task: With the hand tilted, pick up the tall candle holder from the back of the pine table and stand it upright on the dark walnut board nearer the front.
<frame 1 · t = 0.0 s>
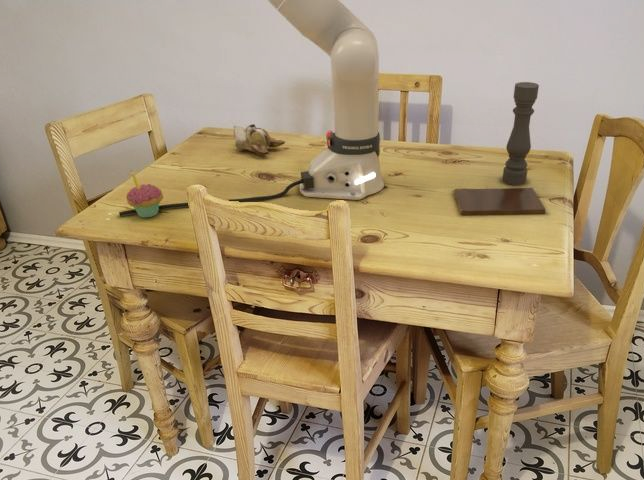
cupcake: (148, 214, 150), on the table
board: (497, 203, 150), on the table
candle holder: (513, 181, 162), on the table
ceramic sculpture: (257, 152, 185), on the table
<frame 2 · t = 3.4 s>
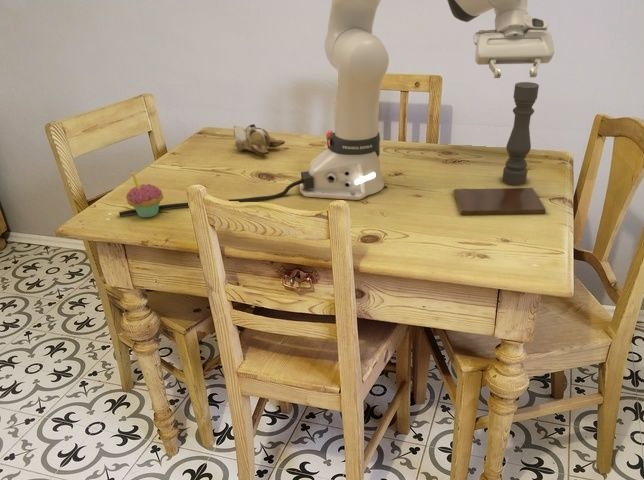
hand: (515, 76, 158), 24 cm above the table, tool tilted 45°, fingers open, 8 cm apart
nothing on the table moved.
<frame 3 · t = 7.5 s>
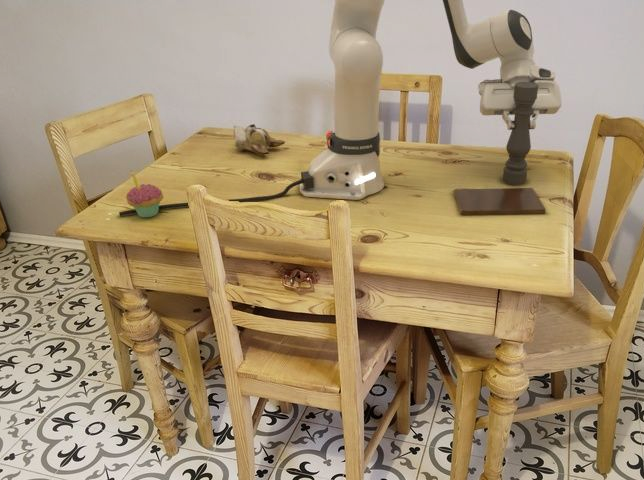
hand: (521, 128, 153), 14 cm above the table, tool tilted 45°, fingers closed on candle holder, 4 cm apart
candle holder: (513, 181, 162), on the table, touching gripper
everything else where it was.
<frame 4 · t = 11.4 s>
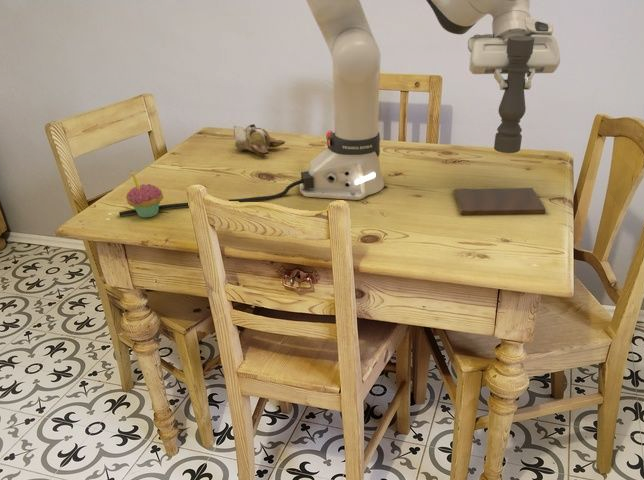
hand: (515, 88, 137), 27 cm above the table, tool tilted 45°, fingers closed on candle holder, 4 cm apart
candle holder: (506, 149, 146), point 12 cm above the table, touching gripper
everything else where it was.
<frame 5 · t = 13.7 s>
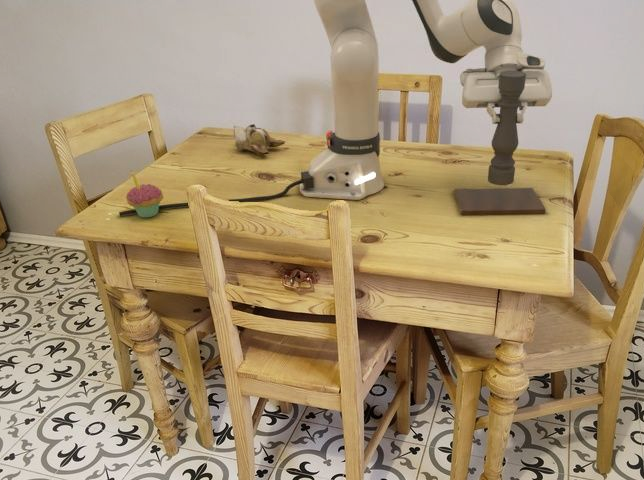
hand: (508, 122, 138), 20 cm above the table, tool tilted 45°, fingers closed on candle holder, 4 cm apart
candle holder: (500, 181, 147), point 6 cm above the table, touching gripper
everything else where it was.
when the fingers open (15 cm above the table, at t = 15.4 s): candle holder stays where it is, resting on board.
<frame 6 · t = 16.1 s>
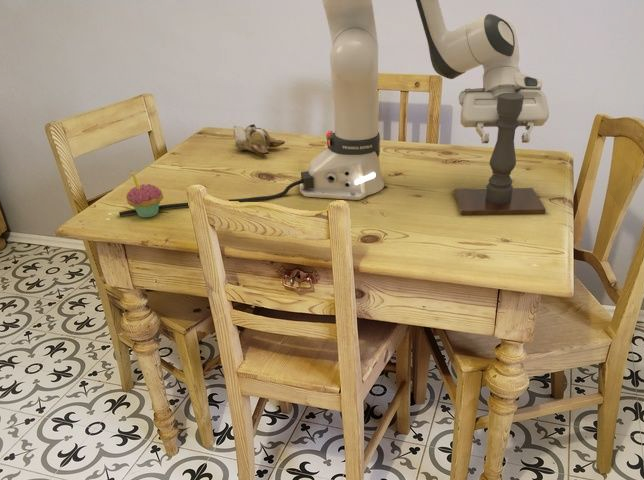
hand: (505, 142, 141), 16 cm above the table, tool tilted 45°, fingers open, 8 cm apart
candle holder: (498, 199, 149), point 1 cm above the table, touching board
everything else where it was.
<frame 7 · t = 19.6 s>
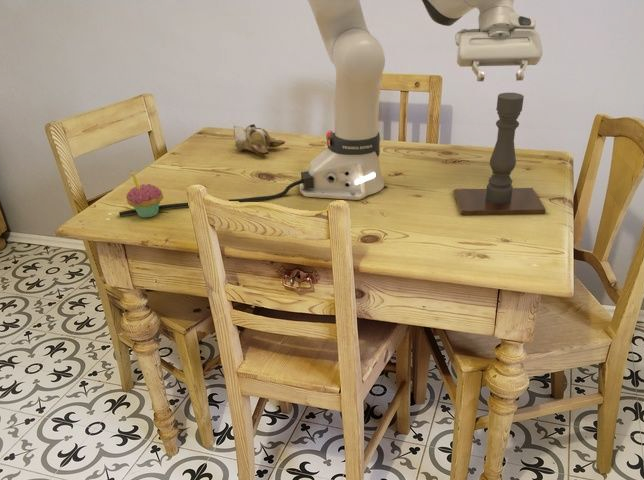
hand: (500, 79, 145), 27 cm above the table, tool tilted 45°, fingers open, 8 cm apart
nothing on the table moved.
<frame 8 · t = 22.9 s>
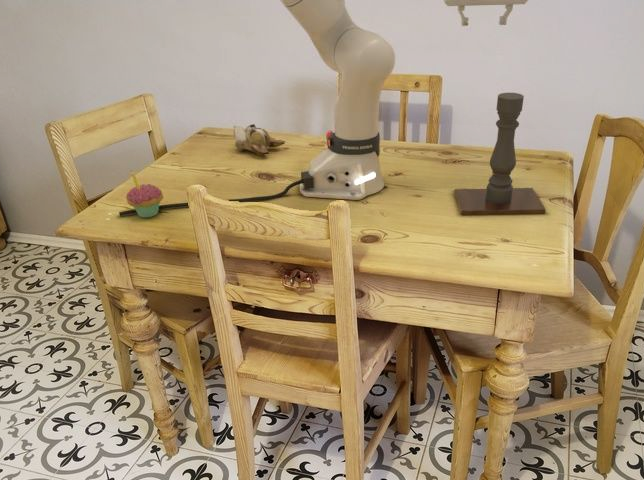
hand: (483, 25, 150), 37 cm above the table, tool pointing down, fingers open, 8 cm apart
nothing on the table moved.
at the end: candle holder inside the target area on the board (0.0 cm from its centre), point 1.0 cm above the board's base; candle holder tilted 0°; the gripper is holding nothing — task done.
